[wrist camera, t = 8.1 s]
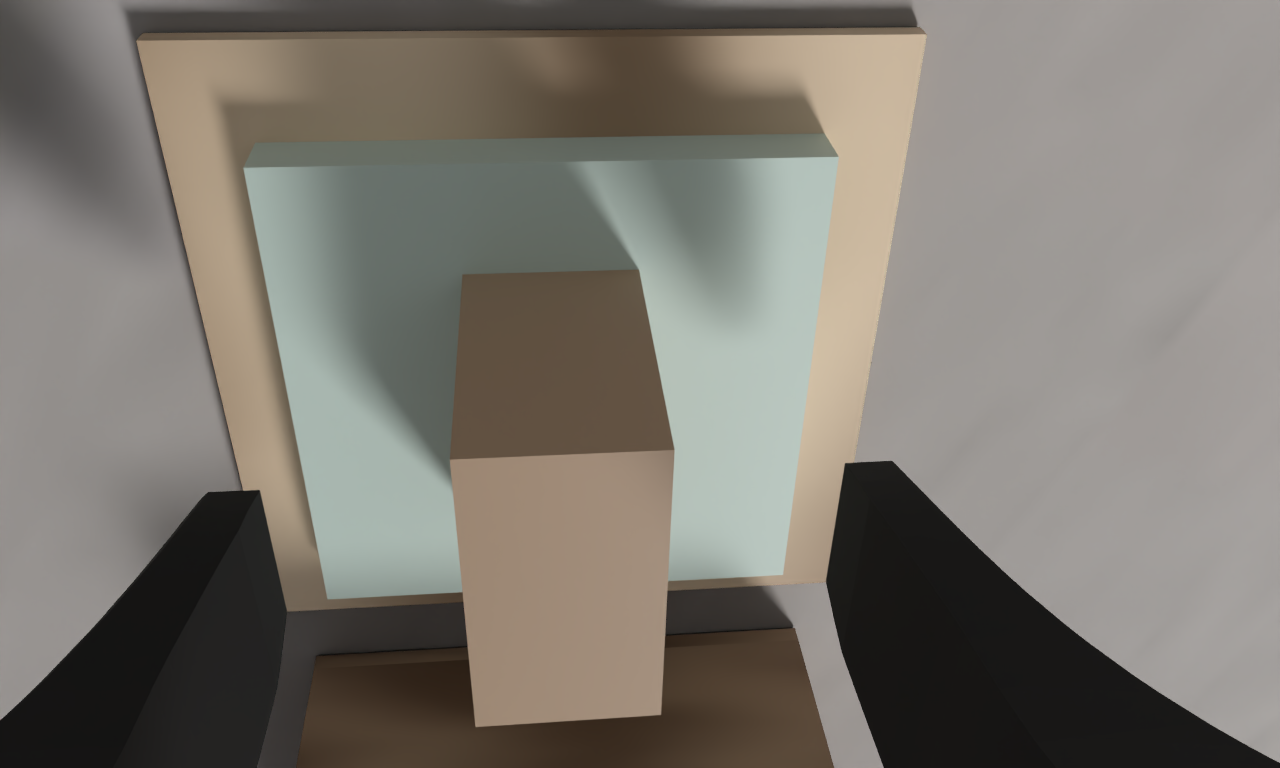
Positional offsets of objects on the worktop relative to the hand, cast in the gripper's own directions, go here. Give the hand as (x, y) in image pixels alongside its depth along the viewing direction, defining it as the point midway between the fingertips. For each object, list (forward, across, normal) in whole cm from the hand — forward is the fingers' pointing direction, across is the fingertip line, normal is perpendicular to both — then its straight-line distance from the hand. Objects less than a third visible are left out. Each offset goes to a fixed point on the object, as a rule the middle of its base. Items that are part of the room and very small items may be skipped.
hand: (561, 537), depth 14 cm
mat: (+4, 0, 0) cm, 4 cm away
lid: (+4, 0, 0) cm, 4 cm away
